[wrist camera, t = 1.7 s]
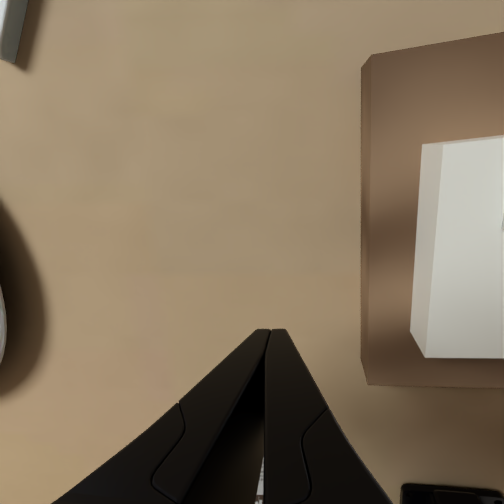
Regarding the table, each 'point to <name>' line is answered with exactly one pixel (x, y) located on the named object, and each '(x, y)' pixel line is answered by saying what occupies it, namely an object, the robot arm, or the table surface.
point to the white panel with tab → (460, 250)
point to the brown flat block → (416, 192)
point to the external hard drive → (11, 27)
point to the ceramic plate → (2, 326)
